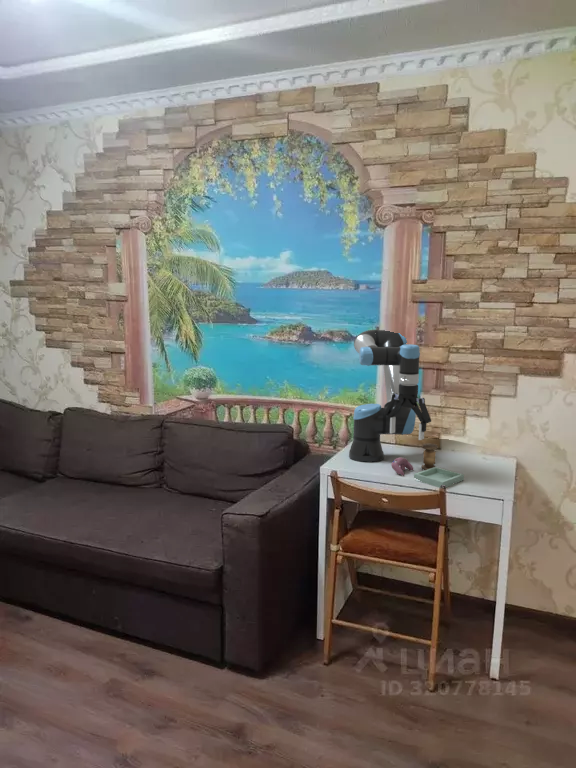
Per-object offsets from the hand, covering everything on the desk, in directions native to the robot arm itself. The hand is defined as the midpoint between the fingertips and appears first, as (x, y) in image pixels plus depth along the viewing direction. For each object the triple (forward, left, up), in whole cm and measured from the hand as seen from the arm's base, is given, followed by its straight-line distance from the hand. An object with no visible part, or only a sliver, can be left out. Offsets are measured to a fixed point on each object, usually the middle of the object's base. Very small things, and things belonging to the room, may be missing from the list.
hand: (406, 436), depth 231 cm
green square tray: (+15, +2, -15) cm, 21 cm away
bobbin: (+4, +11, -15) cm, 19 cm away
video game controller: (-1, -1, -15) cm, 15 cm away
